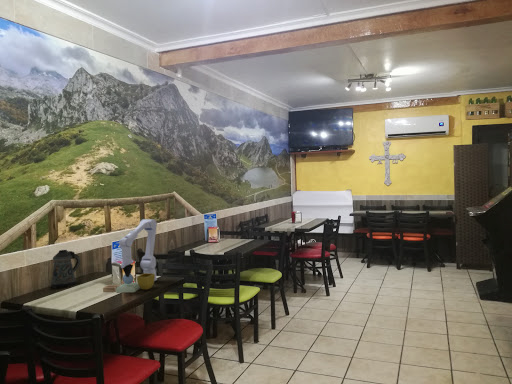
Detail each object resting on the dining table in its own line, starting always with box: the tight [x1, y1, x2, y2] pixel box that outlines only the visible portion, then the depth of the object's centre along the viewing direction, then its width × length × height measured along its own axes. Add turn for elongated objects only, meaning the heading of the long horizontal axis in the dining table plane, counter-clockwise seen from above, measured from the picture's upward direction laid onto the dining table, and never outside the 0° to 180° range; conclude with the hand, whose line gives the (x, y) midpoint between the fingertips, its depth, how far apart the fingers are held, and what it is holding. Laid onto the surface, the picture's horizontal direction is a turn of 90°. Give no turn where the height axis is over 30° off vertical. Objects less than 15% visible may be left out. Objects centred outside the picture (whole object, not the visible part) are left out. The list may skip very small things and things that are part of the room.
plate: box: [122, 273, 134, 284], centre depth 258 cm, size 1×7×7 cm, turn 83°
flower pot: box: [136, 272, 155, 290], centre depth 259 cm, size 9×9×9 cm
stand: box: [102, 284, 121, 293], centre depth 260 cm, size 6×9×3 cm
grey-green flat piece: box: [116, 282, 141, 294], centre depth 259 cm, size 11×13×3 cm
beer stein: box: [50, 249, 81, 289], centre depth 282 cm, size 16×19×25 cm
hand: (128, 276), depth 258 cm, fingers closed on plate, 1 cm apart
